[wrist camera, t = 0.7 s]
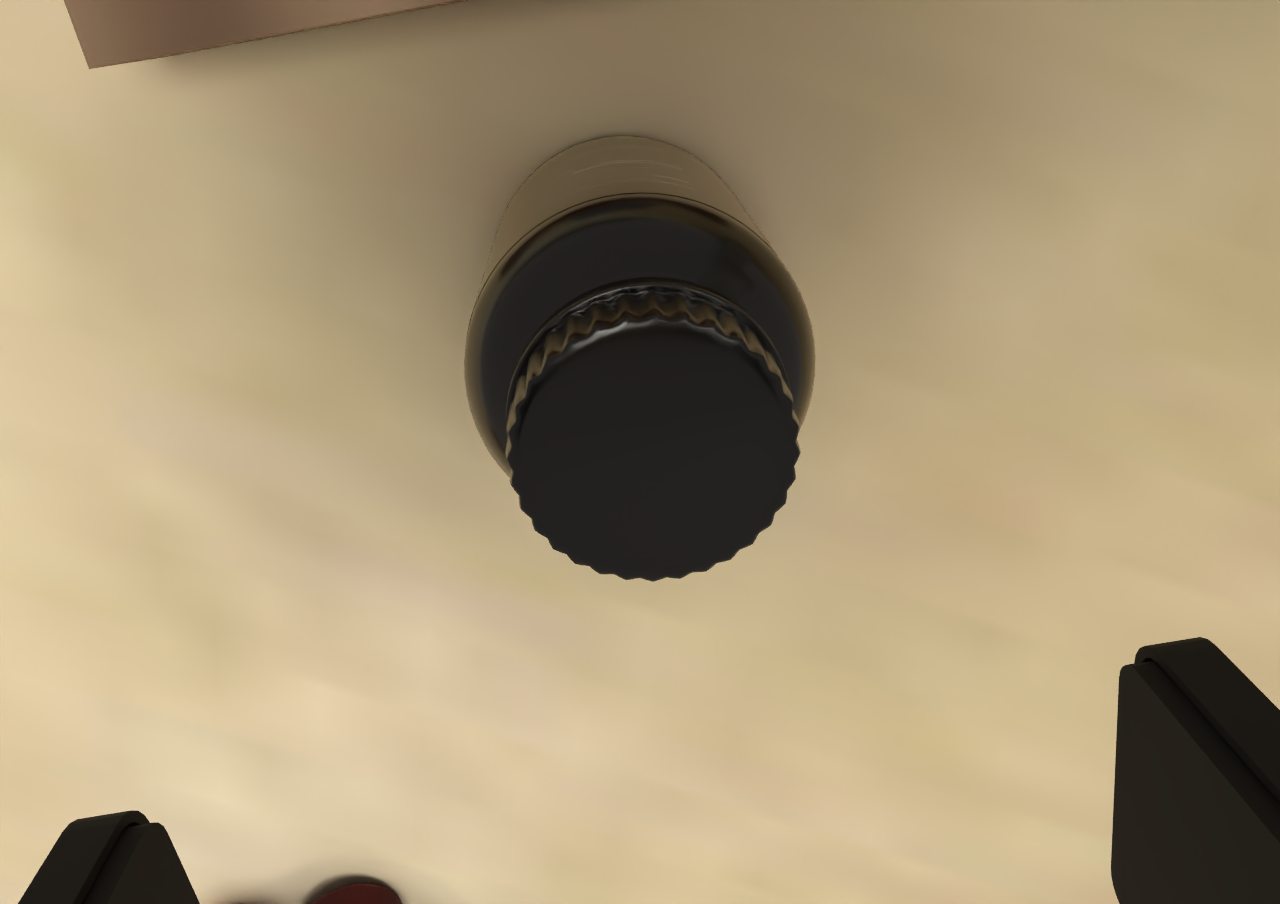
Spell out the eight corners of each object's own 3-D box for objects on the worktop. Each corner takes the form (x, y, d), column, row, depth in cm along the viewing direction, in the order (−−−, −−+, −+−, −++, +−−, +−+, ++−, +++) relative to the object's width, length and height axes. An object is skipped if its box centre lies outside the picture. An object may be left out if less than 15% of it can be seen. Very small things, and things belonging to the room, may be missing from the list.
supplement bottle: (455, 327, 28) (370, 547, 17) (557, 84, 25) (535, 156, 14) (682, 424, 29) (740, 685, 18) (800, 204, 27) (946, 352, 16)
